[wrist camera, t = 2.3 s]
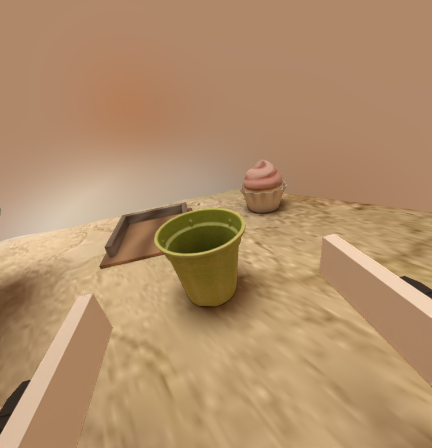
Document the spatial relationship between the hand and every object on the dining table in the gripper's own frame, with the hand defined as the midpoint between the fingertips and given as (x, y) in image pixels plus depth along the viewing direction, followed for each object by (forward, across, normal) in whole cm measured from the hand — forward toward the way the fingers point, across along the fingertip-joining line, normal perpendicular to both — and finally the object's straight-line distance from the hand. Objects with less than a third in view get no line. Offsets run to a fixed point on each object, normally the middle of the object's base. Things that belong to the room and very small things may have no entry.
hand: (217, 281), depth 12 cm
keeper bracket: (+28, -9, -10) cm, 31 cm away
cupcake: (+29, +14, -10) cm, 34 cm away
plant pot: (+10, 0, -10) cm, 14 cm away
